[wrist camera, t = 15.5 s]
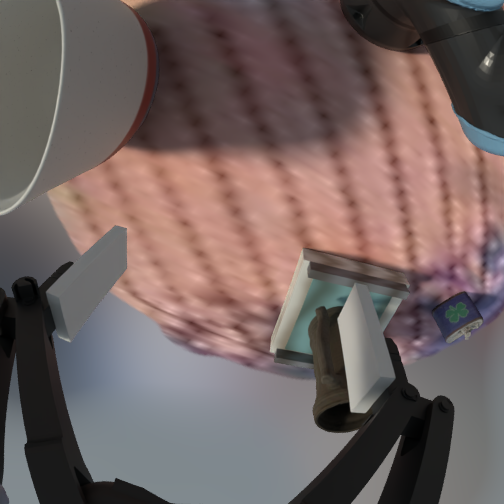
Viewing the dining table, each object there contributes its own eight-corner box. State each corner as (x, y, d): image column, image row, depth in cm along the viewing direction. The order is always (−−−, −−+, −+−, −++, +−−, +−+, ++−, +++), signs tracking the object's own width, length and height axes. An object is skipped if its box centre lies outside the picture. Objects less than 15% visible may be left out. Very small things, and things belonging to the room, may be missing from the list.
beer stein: (375, 332, 52) (395, 418, 35) (329, 357, 56) (332, 442, 39) (334, 277, 49) (347, 365, 31) (283, 308, 53) (272, 397, 35)
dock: (403, 273, 51) (414, 293, 45) (357, 353, 61) (361, 375, 56) (302, 247, 50) (304, 267, 45) (271, 338, 61) (269, 361, 56)
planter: (215, 89, 39) (124, 81, 16) (99, 185, 49) (-7, 258, 25) (129, -17, 30) (20, -64, 7) (34, 86, 39) (-77, 110, 16)
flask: (432, 317, 55) (449, 352, 45) (430, 308, 54) (448, 343, 44) (467, 297, 52) (488, 329, 42) (465, 287, 51) (487, 320, 41)
